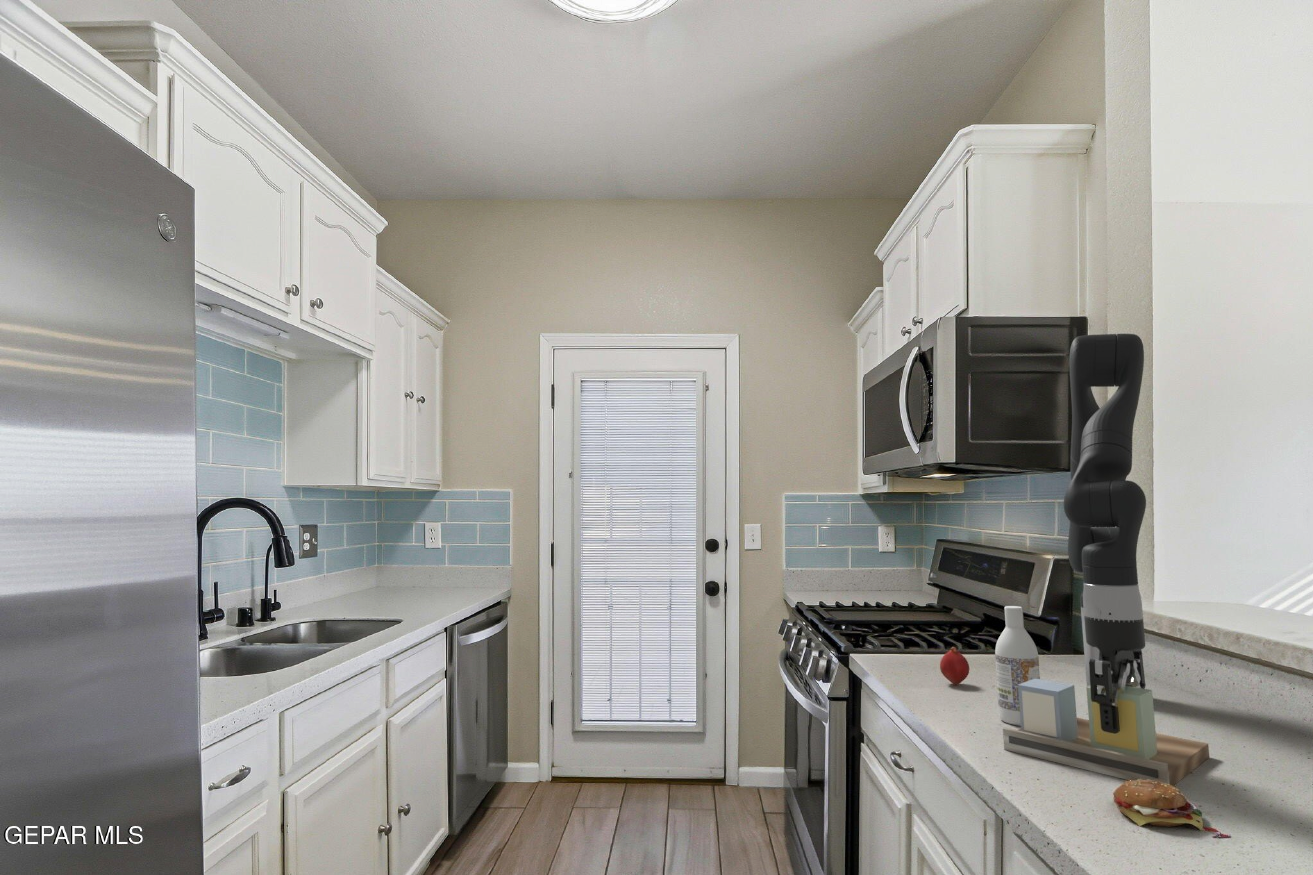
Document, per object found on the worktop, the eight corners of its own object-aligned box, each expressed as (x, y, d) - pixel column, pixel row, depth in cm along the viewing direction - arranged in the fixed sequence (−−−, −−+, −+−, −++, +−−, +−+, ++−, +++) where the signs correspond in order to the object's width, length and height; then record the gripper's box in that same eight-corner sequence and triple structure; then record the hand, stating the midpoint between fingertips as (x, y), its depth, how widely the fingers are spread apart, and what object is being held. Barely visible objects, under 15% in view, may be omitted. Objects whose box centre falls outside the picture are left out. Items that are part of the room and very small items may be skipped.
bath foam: (1029, 729, 124) (1021, 610, 126) (991, 720, 130) (984, 606, 131) (1050, 722, 128) (1042, 607, 130) (1013, 713, 133) (1005, 603, 135)
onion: (938, 681, 158) (936, 644, 159) (965, 681, 157) (963, 644, 158) (945, 688, 152) (942, 649, 153) (973, 688, 152) (971, 649, 152)
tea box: (1104, 741, 111) (1099, 681, 112) (1157, 753, 105) (1152, 689, 106) (1090, 749, 108) (1085, 687, 108) (1144, 761, 102) (1139, 696, 103)
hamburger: (1132, 845, 83) (1128, 791, 83) (1089, 797, 96) (1085, 751, 97) (1274, 856, 80) (1269, 799, 80) (1209, 804, 93) (1204, 756, 94)
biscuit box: (1038, 728, 118) (1034, 678, 118) (1078, 737, 113) (1074, 684, 114) (1020, 737, 114) (1017, 684, 115) (1061, 746, 109) (1057, 691, 110)
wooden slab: (1055, 724, 126) (1054, 706, 126) (1209, 757, 109) (1207, 735, 109) (1003, 749, 114) (1001, 728, 114) (1167, 790, 97) (1165, 765, 97)
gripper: (1123, 622, 101) (1133, 742, 99) (1158, 611, 110) (1167, 721, 108) (1066, 617, 107) (1074, 730, 105) (1103, 607, 116) (1111, 711, 114)
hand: (1121, 726), depth 107 cm, fingers open, 8 cm apart
